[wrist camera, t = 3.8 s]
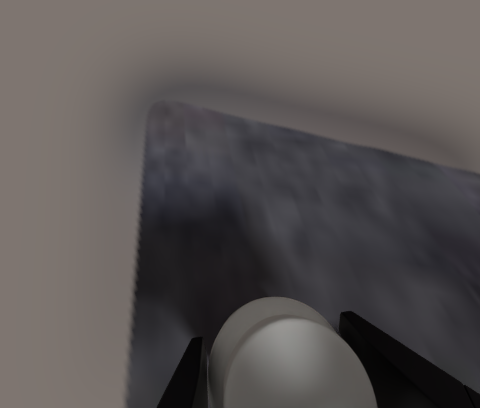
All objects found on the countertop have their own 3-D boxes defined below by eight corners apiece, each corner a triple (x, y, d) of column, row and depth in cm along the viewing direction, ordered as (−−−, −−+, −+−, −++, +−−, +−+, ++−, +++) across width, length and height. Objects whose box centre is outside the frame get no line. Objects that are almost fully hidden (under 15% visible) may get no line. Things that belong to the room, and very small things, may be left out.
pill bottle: (206, 385, 13) (156, 520, 5) (231, 292, 16) (228, 268, 7) (295, 414, 13) (424, 628, 4) (307, 315, 15) (407, 318, 7)
